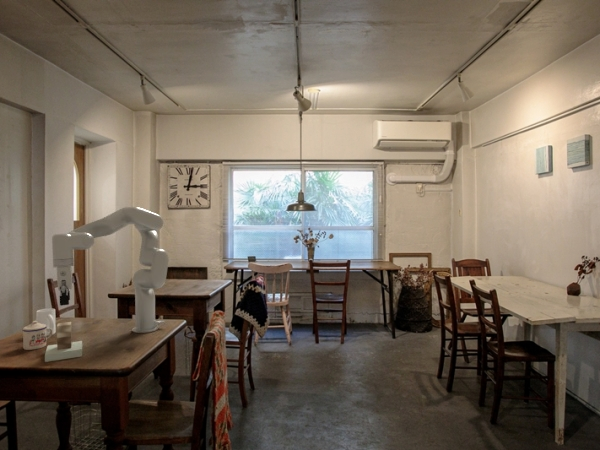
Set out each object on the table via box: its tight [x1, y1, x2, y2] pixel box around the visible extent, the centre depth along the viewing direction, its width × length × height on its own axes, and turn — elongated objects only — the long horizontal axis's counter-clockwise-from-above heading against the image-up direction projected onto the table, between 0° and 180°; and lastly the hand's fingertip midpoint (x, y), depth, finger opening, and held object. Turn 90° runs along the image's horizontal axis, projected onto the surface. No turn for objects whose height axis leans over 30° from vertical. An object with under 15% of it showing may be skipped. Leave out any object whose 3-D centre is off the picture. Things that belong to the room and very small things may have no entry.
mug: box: [35, 307, 57, 337], centre depth 193 cm, size 8×12×12 cm
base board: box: [44, 340, 83, 363], centre depth 165 cm, size 13×13×3 cm
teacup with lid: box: [22, 320, 53, 351], centre depth 176 cm, size 12×9×12 cm
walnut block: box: [56, 335, 73, 350], centre depth 165 cm, size 5×5×5 cm
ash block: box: [56, 321, 72, 339], centre depth 165 cm, size 5×5×5 cm
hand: (65, 302), depth 165 cm, fingers open, 9 cm apart
